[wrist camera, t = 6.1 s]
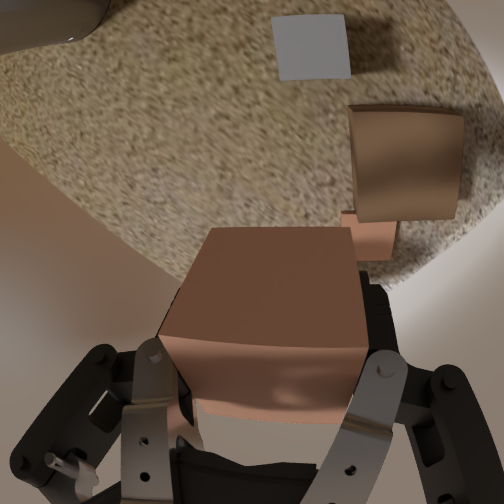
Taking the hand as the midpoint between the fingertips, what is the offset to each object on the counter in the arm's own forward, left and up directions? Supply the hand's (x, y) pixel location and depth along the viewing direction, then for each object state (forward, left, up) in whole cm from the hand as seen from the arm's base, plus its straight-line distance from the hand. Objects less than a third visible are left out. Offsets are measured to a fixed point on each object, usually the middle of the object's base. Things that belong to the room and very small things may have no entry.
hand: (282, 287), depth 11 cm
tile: (+10, +7, -18) cm, 22 cm away
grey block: (-9, +2, -18) cm, 20 cm away
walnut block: (+1, +10, -18) cm, 21 cm away
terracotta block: (0, 0, 0) cm, 0 cm away
